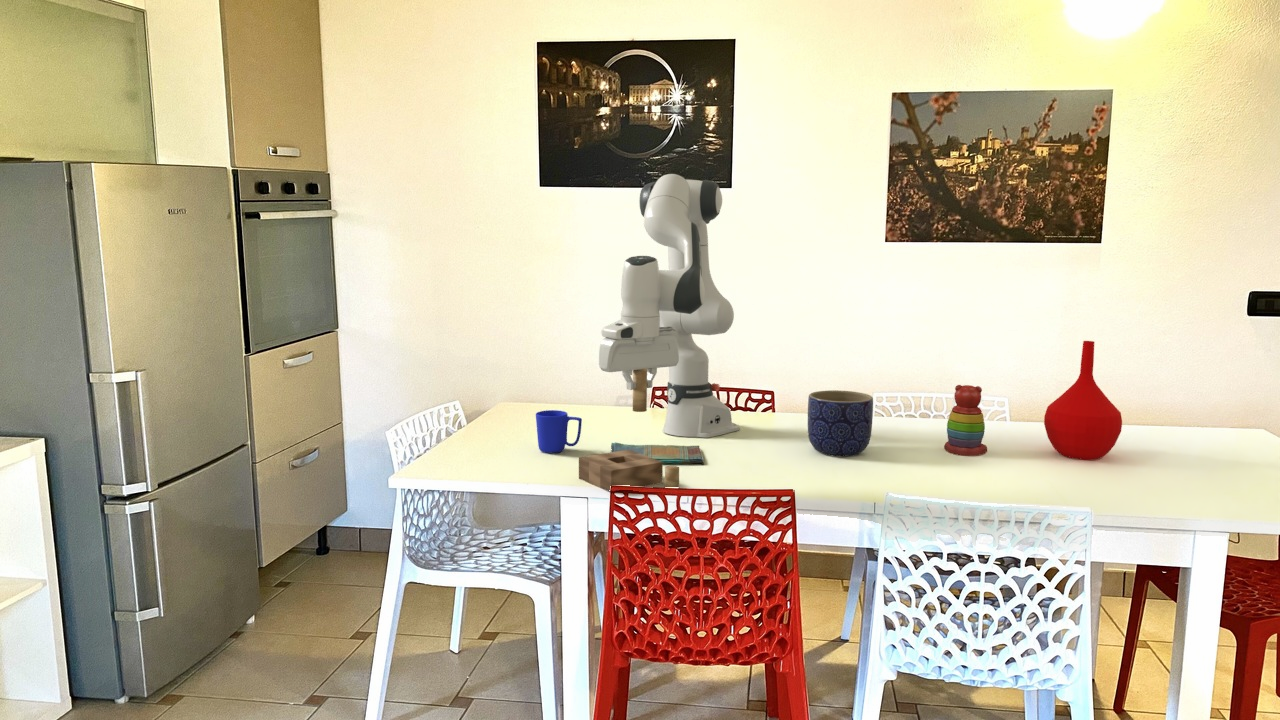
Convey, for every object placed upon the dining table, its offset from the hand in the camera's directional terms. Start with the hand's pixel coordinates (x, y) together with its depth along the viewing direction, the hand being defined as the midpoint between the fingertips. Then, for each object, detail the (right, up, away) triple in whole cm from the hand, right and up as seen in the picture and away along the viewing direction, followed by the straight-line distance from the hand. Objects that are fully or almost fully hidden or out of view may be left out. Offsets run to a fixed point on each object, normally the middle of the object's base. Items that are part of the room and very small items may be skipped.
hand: (639, 388), depth 222 cm
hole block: (-4, -21, +3) cm, 22 cm away
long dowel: (0, -5, +1) cm, 5 cm away
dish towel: (+4, -19, +26) cm, 32 cm away
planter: (+52, -18, +32) cm, 64 cm away
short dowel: (+7, -23, -3) cm, 24 cm away
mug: (-21, -17, +30) cm, 41 cm away
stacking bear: (+85, -18, +33) cm, 93 cm away
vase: (+114, -18, +30) cm, 119 cm away
